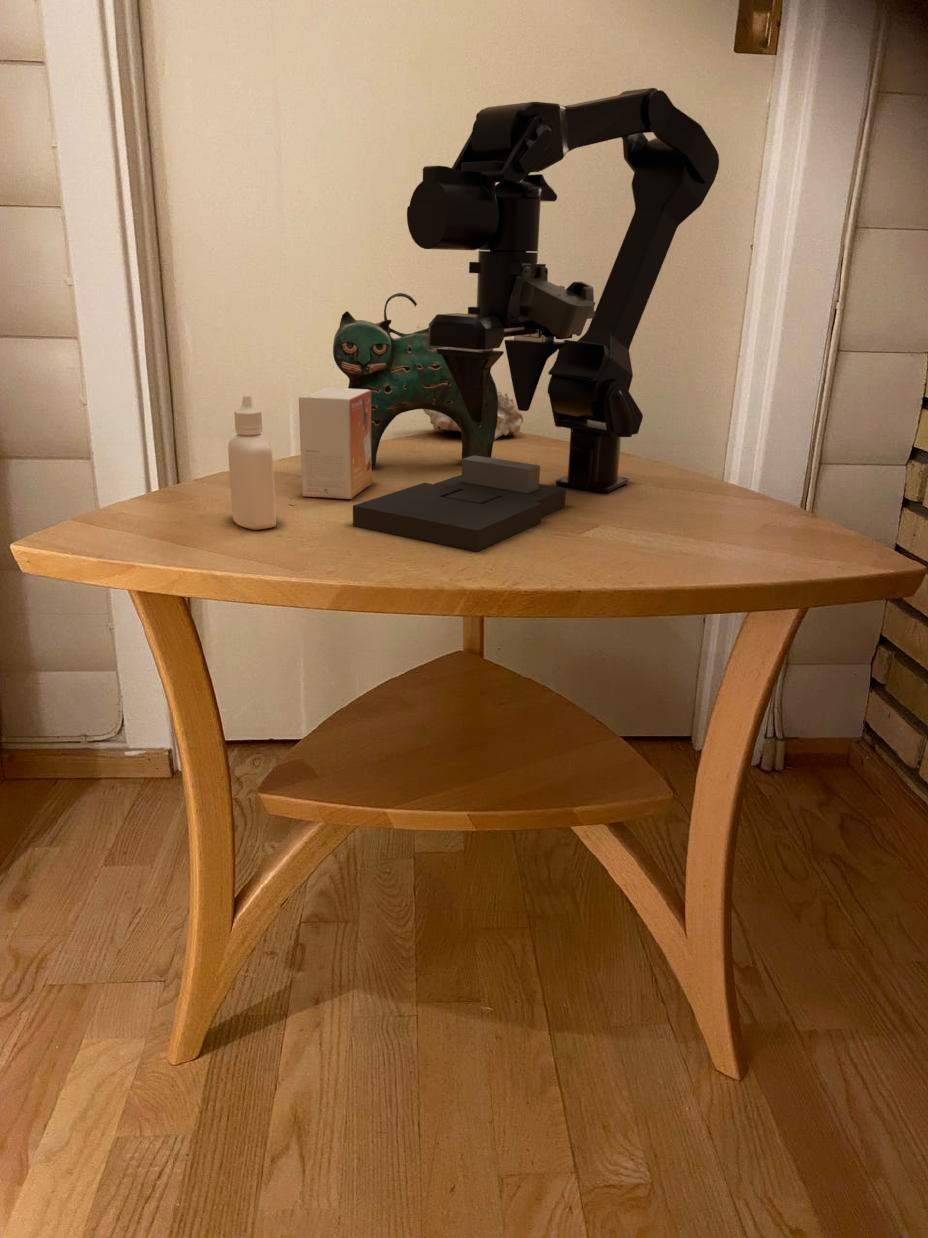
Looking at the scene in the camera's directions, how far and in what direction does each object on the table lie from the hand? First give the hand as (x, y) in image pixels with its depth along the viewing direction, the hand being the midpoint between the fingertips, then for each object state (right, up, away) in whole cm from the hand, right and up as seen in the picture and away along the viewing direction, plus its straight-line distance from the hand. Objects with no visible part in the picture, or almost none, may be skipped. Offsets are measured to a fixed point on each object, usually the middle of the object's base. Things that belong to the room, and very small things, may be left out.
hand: (501, 416), depth 97 cm
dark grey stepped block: (-1, -9, +2) cm, 9 cm away
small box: (-18, -7, +7) cm, 20 cm away
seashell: (-3, +5, +40) cm, 40 cm away
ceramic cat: (-10, -2, +20) cm, 23 cm away
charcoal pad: (-5, -11, -4) cm, 13 cm away
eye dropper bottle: (-24, -12, -6) cm, 27 cm away
